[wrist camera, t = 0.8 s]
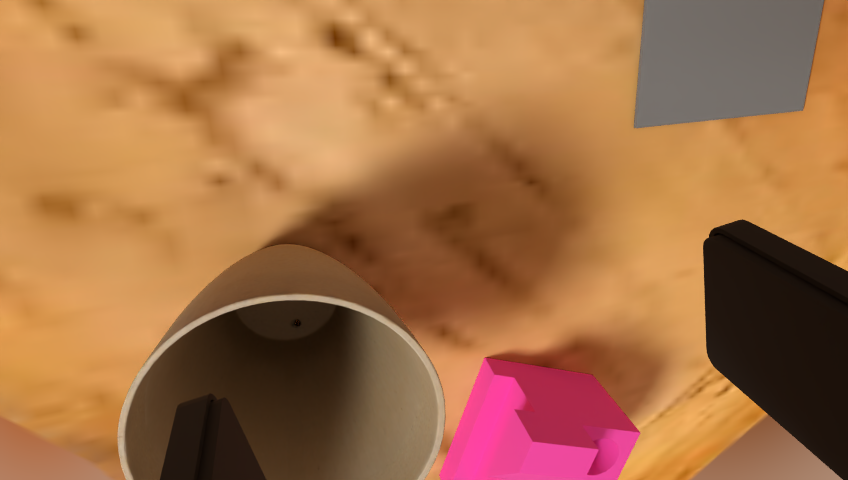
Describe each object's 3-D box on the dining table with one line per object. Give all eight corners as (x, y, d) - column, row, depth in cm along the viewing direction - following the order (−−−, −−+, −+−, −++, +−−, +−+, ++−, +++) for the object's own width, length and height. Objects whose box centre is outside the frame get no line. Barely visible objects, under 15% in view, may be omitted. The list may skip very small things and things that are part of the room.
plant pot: (425, 316, 46) (491, 463, 31) (252, 411, 46) (240, 603, 31) (327, 147, 39) (355, 234, 25) (127, 256, 39) (38, 408, 25)
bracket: (484, 356, 49) (532, 441, 39) (591, 373, 52) (660, 456, 42) (439, 474, 52) (473, 578, 43) (542, 484, 55) (595, 582, 46)
